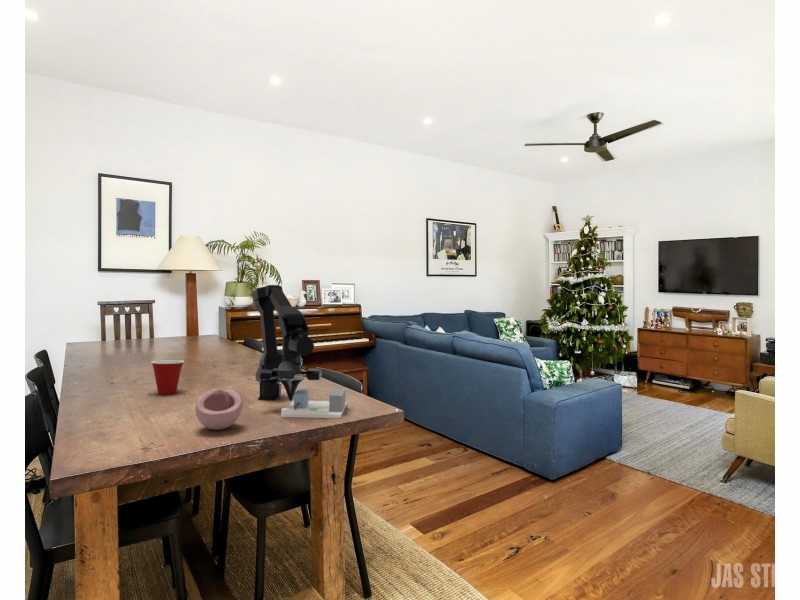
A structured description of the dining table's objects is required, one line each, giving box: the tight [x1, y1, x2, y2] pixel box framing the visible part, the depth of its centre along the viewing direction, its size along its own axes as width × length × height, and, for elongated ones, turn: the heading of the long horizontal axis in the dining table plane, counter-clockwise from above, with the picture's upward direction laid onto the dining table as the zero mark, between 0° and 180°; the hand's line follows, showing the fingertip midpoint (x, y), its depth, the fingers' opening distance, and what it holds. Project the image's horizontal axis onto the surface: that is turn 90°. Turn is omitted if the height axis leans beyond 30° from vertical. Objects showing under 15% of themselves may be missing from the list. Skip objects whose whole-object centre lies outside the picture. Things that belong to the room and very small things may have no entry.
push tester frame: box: [280, 388, 348, 419], centre depth 145 cm, size 18×16×6 cm
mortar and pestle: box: [194, 387, 243, 431], centre depth 125 cm, size 12×12×11 cm
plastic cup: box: [150, 359, 185, 396], centre depth 164 cm, size 11×11×12 cm
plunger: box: [293, 388, 310, 408], centre depth 143 cm, size 3×12×5 cm, turn 0°
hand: (290, 400), depth 145 cm, fingers closed
